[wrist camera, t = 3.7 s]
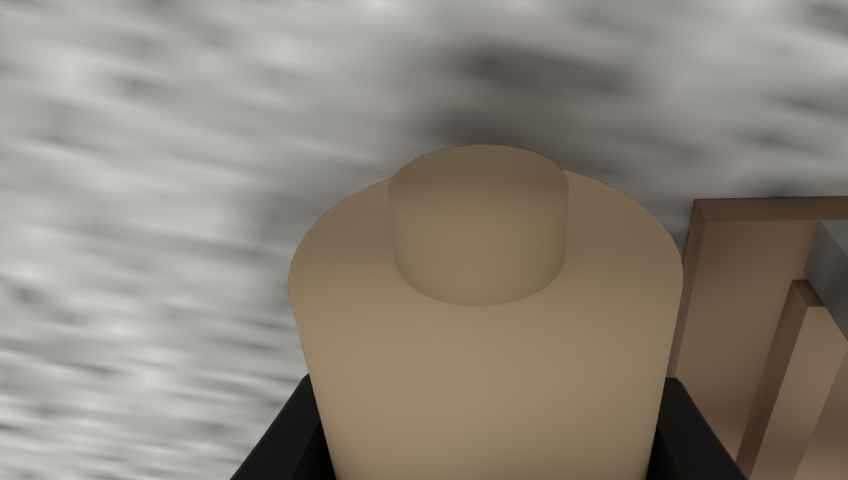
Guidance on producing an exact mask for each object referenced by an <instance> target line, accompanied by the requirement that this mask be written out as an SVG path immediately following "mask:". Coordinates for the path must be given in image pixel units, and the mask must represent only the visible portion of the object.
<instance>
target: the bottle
mask: <svg viewBox="0 0 848 480" xmlns="http://www.w3.org/2000/svg"><path fill="white" fill-rule="evenodd" d="M682 288H683V267H682V262H681V257H680V253H679V251H678V249H677V247H676V244H675V242H674V240H673V238H672V237H671V235H670V234H669V232H668V231H667V229H666V228H665V226H664V225H663V224H662V223H661V222H660V221H659V220H658V219H657V218H656V217H655V216H654V215H653V214H652V213H651V212H650V211H649V210H648V209H646V208H645V207H644V206H643V205H641V204H640V203H639V202H637V201H636V200H634V199H633V198H631V197H629V196H628V195H626V194H625V193H623V192H621V191H619V190H617V189H615V188H613V187H611V186H609V185H607V184H605V183H602V182H600V181H597V180H595V179H592V178H589V177H587V176H583V175H580V174H577V173H573V172H570V171H566V170H562V169H561V168H560V167H559V166H558V165H557V164H555V163H554V162H553V161H551V160H549V159H548V158H546V157H544V156H542V155H540V154H537V153H534V152H532V151H528V150H525V149H521V148H516V147H510V146H503V145H467V146H458V147H452V148H447V149H443V150H439V151H436V152H432V153H429V154H427V155H424V156H422V157H420V158H417V159H415V160H413V161H412V162H410V163H408V164H407V165H405V166H404V167H403V168H401V169H400V170H399V171H398V172H397V173H396V174H395V175H394V177H392V178H390V179H387V180H384V181H382V182H379V183H376V184H374V185H372V186H370V187H368V188H366V189H363V190H361V191H359V192H357V193H356V194H354V195H352V196H350V197H349V198H347V199H345V200H344V201H342V202H341V203H339V204H338V205H336V206H335V207H334V208H332V209H331V210H330V211H328V212H327V213H326V214H325V215H324V216H323V217H322V218H320V219H319V220H318V221H317V222H316V223H315V224H314V225H313V227H312V228H311V229H310V230H309V231H308V232H307V234H306V235H305V236H304V238H303V239H302V241H301V243H300V244H299V246H298V248H297V249H296V252H295V254H294V257H293V259H292V262H291V266H290V271H289V277H288V289H289V297H290V301H291V305H292V309H293V313H294V317H295V321H296V324H297V328H298V332H299V336H300V340H301V344H302V348H303V352H304V356H305V360H306V363H307V367H308V371H309V375H310V379H311V383H312V387H313V391H314V395H315V399H316V403H317V406H318V410H319V414H320V418H321V422H322V426H323V430H324V434H325V438H326V442H327V445H328V449H329V453H330V457H331V461H332V465H333V469H334V473H335V477H336V480H646V477H647V472H648V466H649V461H650V456H651V451H652V445H653V440H654V435H655V430H656V424H657V419H658V414H659V409H660V403H661V398H662V393H663V388H664V382H665V377H666V372H667V367H668V361H669V356H670V351H671V346H672V340H673V335H674V330H675V325H676V319H677V314H678V309H679V304H680V298H681V293H682Z"/></svg>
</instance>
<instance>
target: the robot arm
mask: <svg viewBox="0 0 848 480" xmlns="http://www.w3.org/2000/svg"><path fill="white" fill-rule="evenodd" d="M230 480H336V477H335V473H334V469H333V465H332V461H331V457H330V453H329V449H328V445H327V442H326V438H325V434H324V430H323V426H322V422H321V418H320V414H319V410H318V406H317V403H316V399H315V395H314V391H313V387H312V383H311V379H310V375H309V374H307V375H306V376H305V377H304V378H303V379H302V380H301V382H300V383H299V385H298V386H297V388H296V389H295V391H294V392H293V394H292V395H291V397H290V398H289V400H288V401H287V403H286V404H285V405H284V407H283V408H282V410H281V411H280V413H279V414H278V416H277V417H276V418H275V420H274V421H273V423H272V424H271V425H270V427H269V428H268V430H267V431H266V432H265V434H264V435H263V437H262V438H261V439H260V441H259V442H258V443H257V445H256V446H255V447H254V449H253V450H252V451H251V453H250V454H249V455H248V457H247V458H246V459H245V461H244V462H243V463H242V465H241V466H240V467H239V469H238V470H237V471H236V473H235V474H234V475H233V476H232V478H231V479H230ZM646 480H748V479H747V477H746V476H745V475H744V473H743V472H742V471H741V469H740V468H739V467H738V465H737V464H736V463H735V461H734V460H733V459H732V457H731V456H730V454H729V453H728V452H727V450H726V449H725V447H724V446H723V444H722V443H721V442H720V440H719V439H718V437H717V436H716V434H715V433H714V432H713V430H712V429H711V427H710V426H709V424H708V423H707V421H706V420H705V418H704V417H703V415H702V414H701V412H700V411H699V409H698V408H697V406H696V405H695V403H694V401H693V400H692V398H691V397H690V395H689V394H688V392H687V390H686V389H685V387H684V385H683V384H682V382H681V381H679V380H678V379H677V378H671V377H665V382H664V388H663V393H662V398H661V403H660V409H659V414H658V419H657V424H656V430H655V435H654V440H653V445H652V451H651V456H650V461H649V466H648V472H647V477H646Z"/></svg>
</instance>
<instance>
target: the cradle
mask: <svg viewBox="0 0 848 480" xmlns="http://www.w3.org/2000/svg"><path fill="white" fill-rule="evenodd" d="M666 377H671V378H677V379H678V380H679V381H681V382H682V384H683V385H684V387H685V389H686V390H687V392H688V394H689V395H690V397H691V398H692V400H693V401H694V403H695V405H696V406H697V408H698V409H699V411H700V412H701V414H702V415H703V417H704V418H705V420H706V421H707V423H708V424H709V426H710V427H711V429H712V430H713V432H714V433H715V434H716V436H717V437H718V439H719V440H720V442H721V443H722V444H723V446H724V447H725V449H726V450H727V452H728V453H729V454H730V456H731V457H732V459H733V460H734V461H735V463H736V464H737V465H738V467H739V468H740V469H741V471H742V472H743V473H744V475H745V476H746V477H747V479H748V480H848V197H804V198H755V199H706V200H695V204H694V209H693V215H692V220H691V225H690V231H689V236H688V242H687V247H686V252H685V258H684V263H683V288H682V293H681V298H680V304H679V309H678V314H677V319H676V325H675V330H674V335H673V340H672V346H671V351H670V356H669V361H668V367H667V372H666Z"/></svg>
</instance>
